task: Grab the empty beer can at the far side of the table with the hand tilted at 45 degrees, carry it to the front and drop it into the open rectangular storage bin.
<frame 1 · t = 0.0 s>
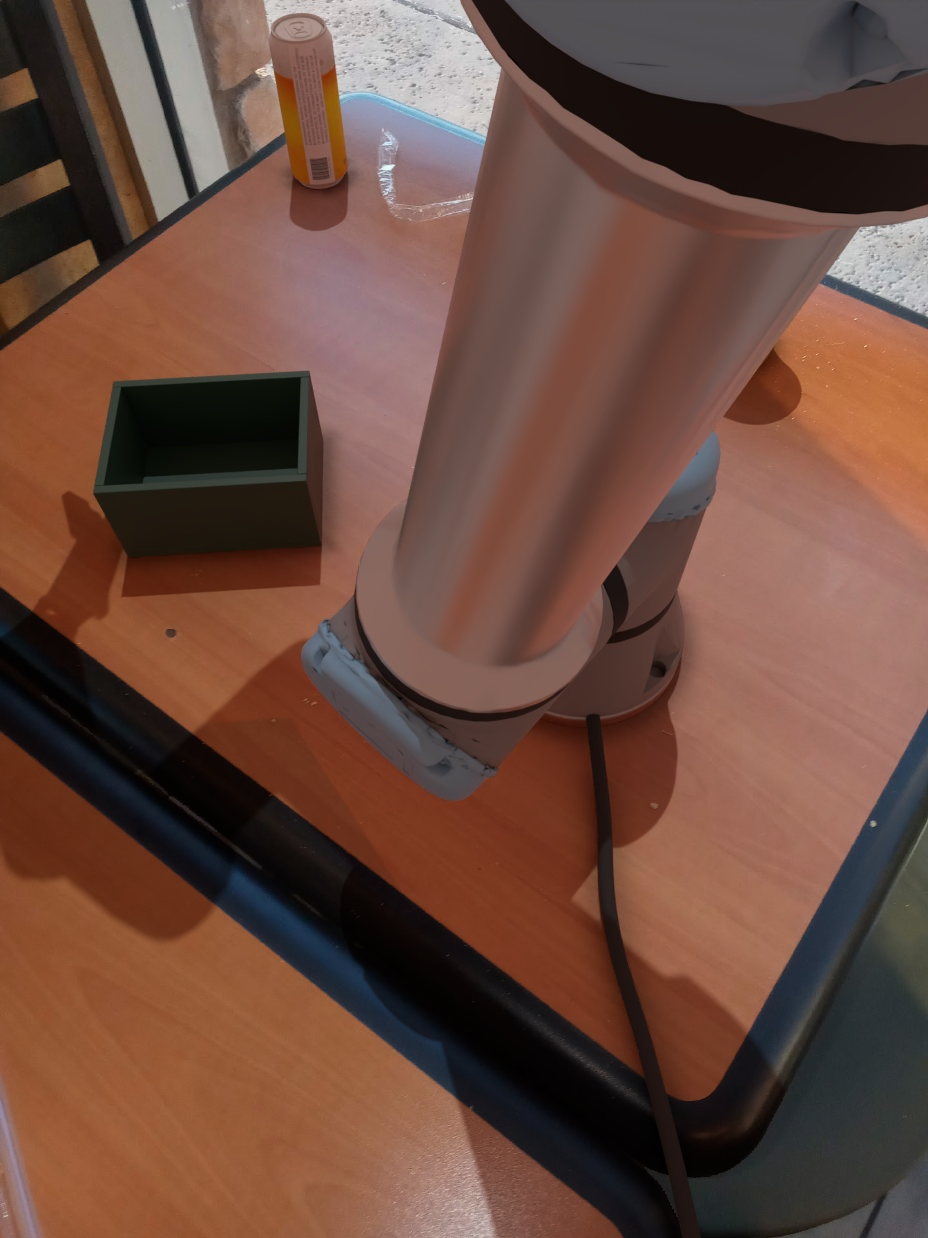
disposable coffee cup: (735, 347, 85), on the table
open rectangular storage bin: (229, 496, 76), on the table
beer can: (320, 176, 99), on the table
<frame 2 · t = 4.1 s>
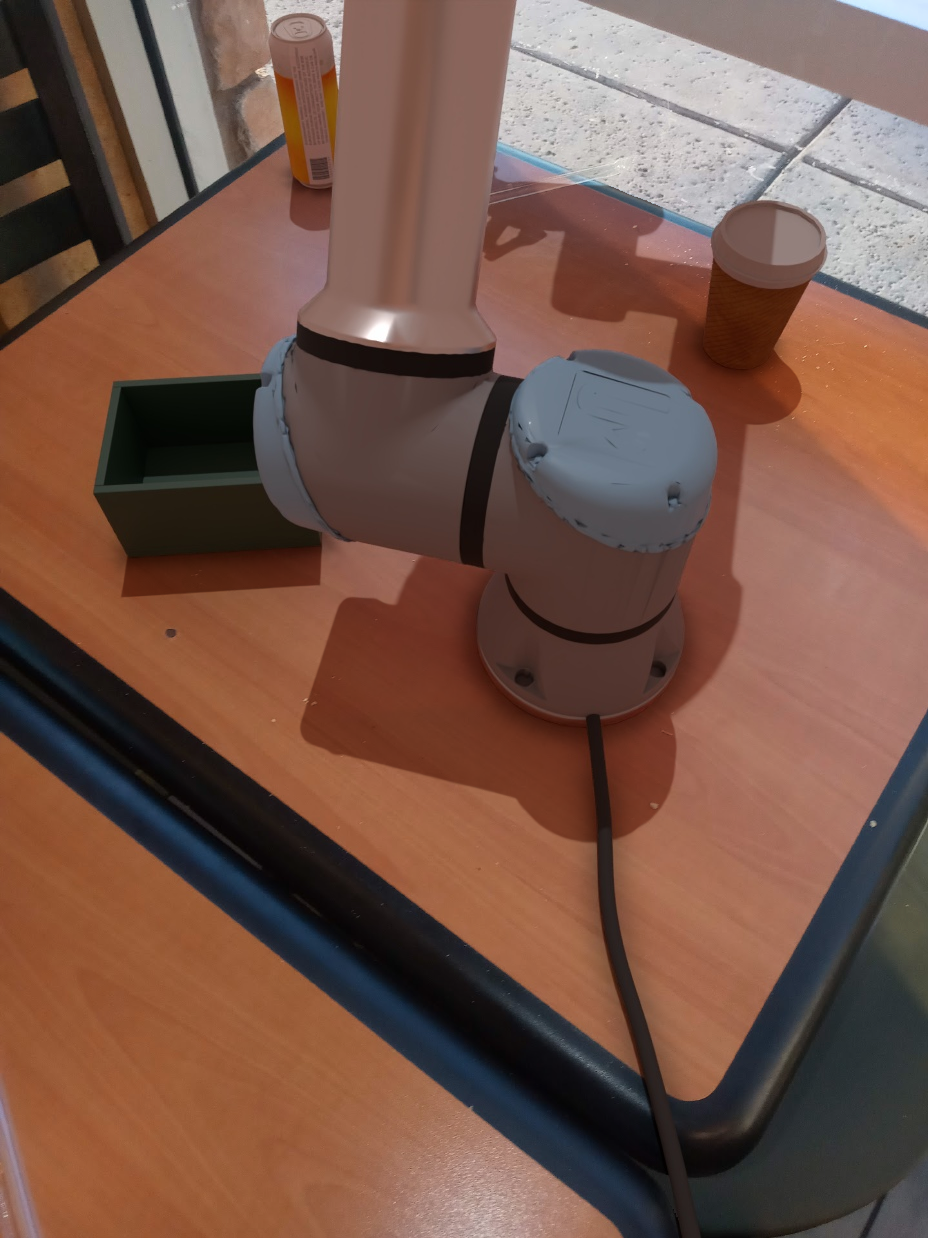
nothing on the table moved.
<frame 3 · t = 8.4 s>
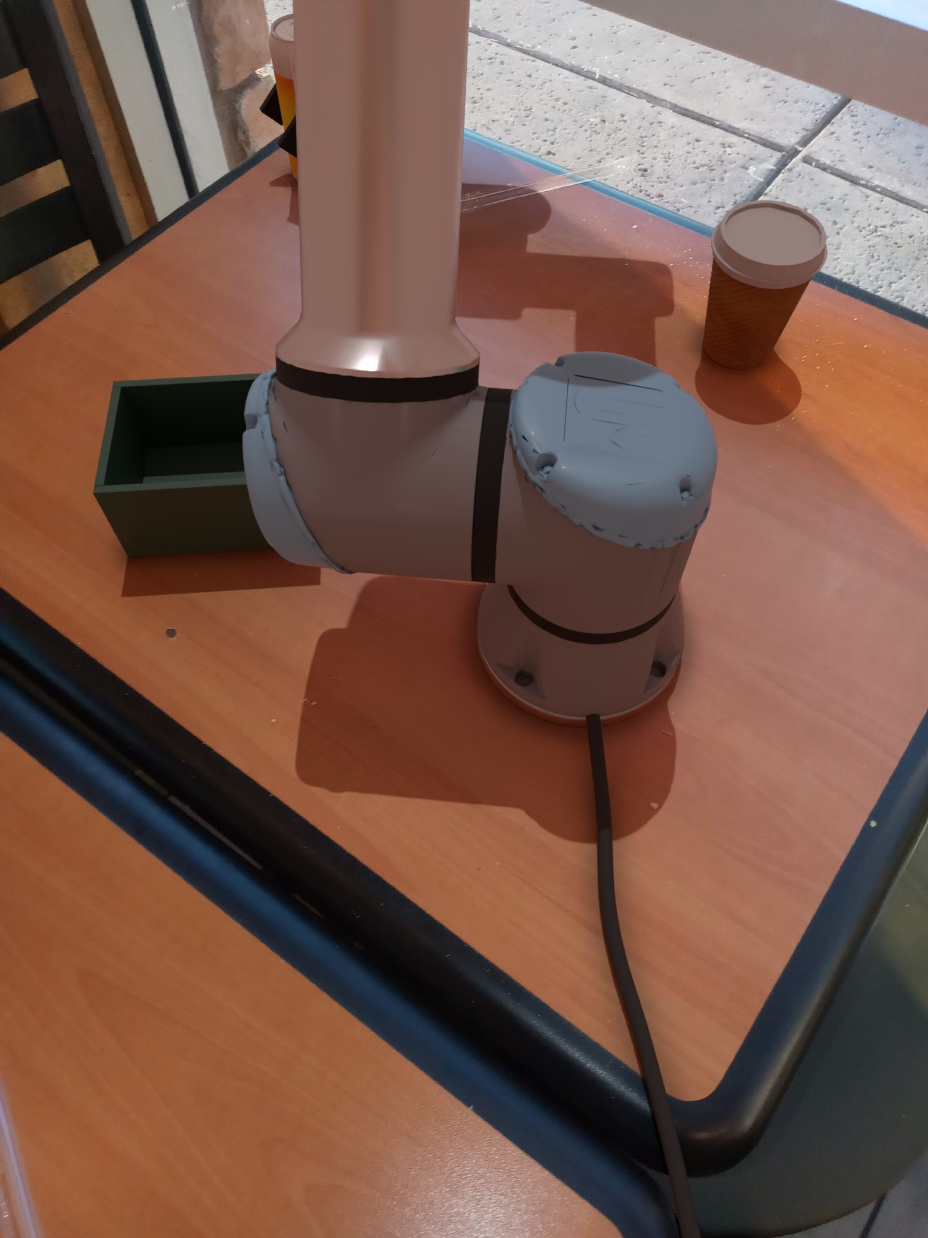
hand: (279, 133, 94), 5 cm above the table, tool tilted 45°, fingers closed on beer can, 6 cm apart
beer can: (320, 176, 99), on the table, touching gripper
everything else where it was.
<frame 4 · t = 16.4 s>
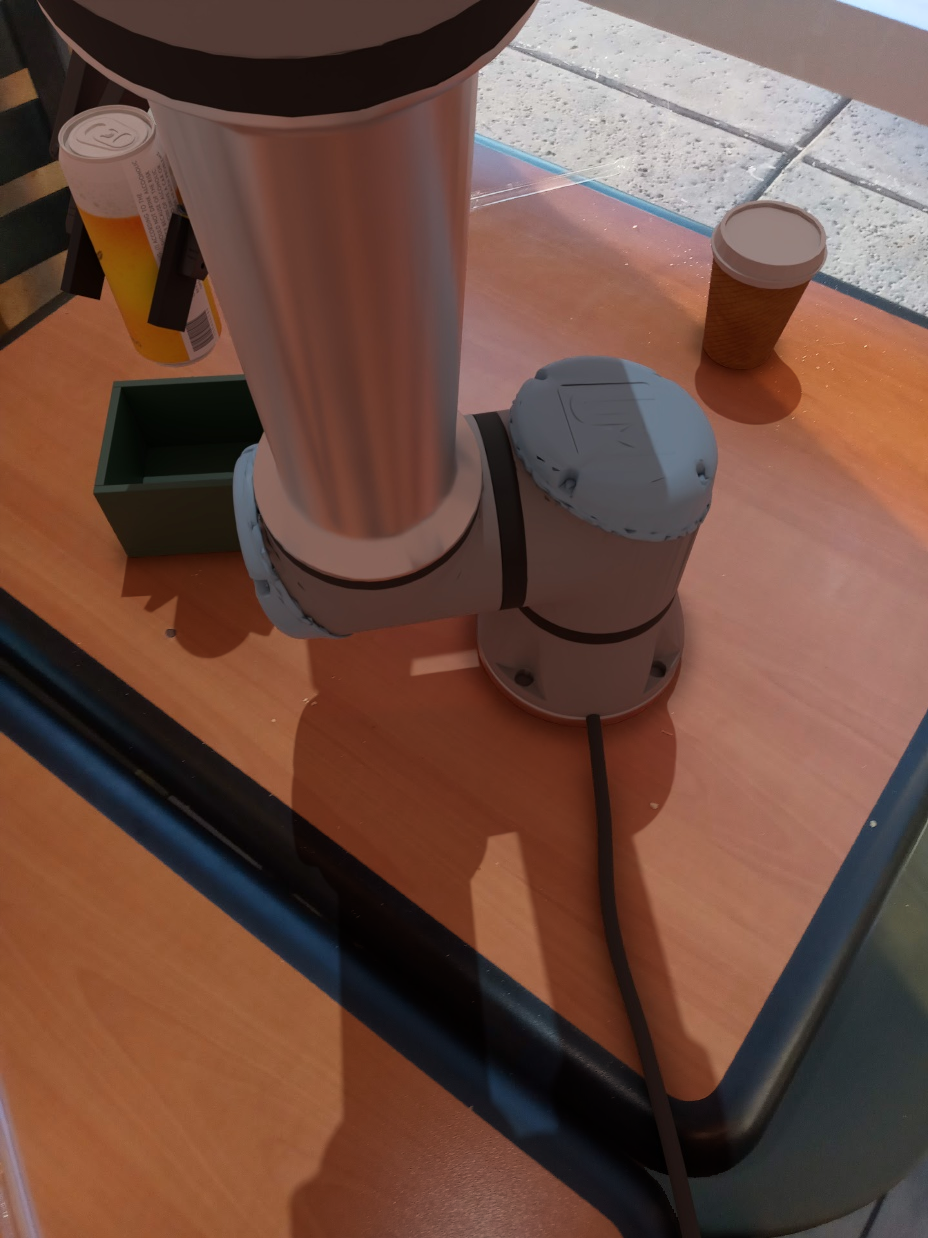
hand: (122, 310, 57), 21 cm above the table, tool tilted 45°, fingers closed on beer can, 6 cm apart
beer can: (181, 344, 63), point 15 cm above the table, touching gripper
everything else where it was.
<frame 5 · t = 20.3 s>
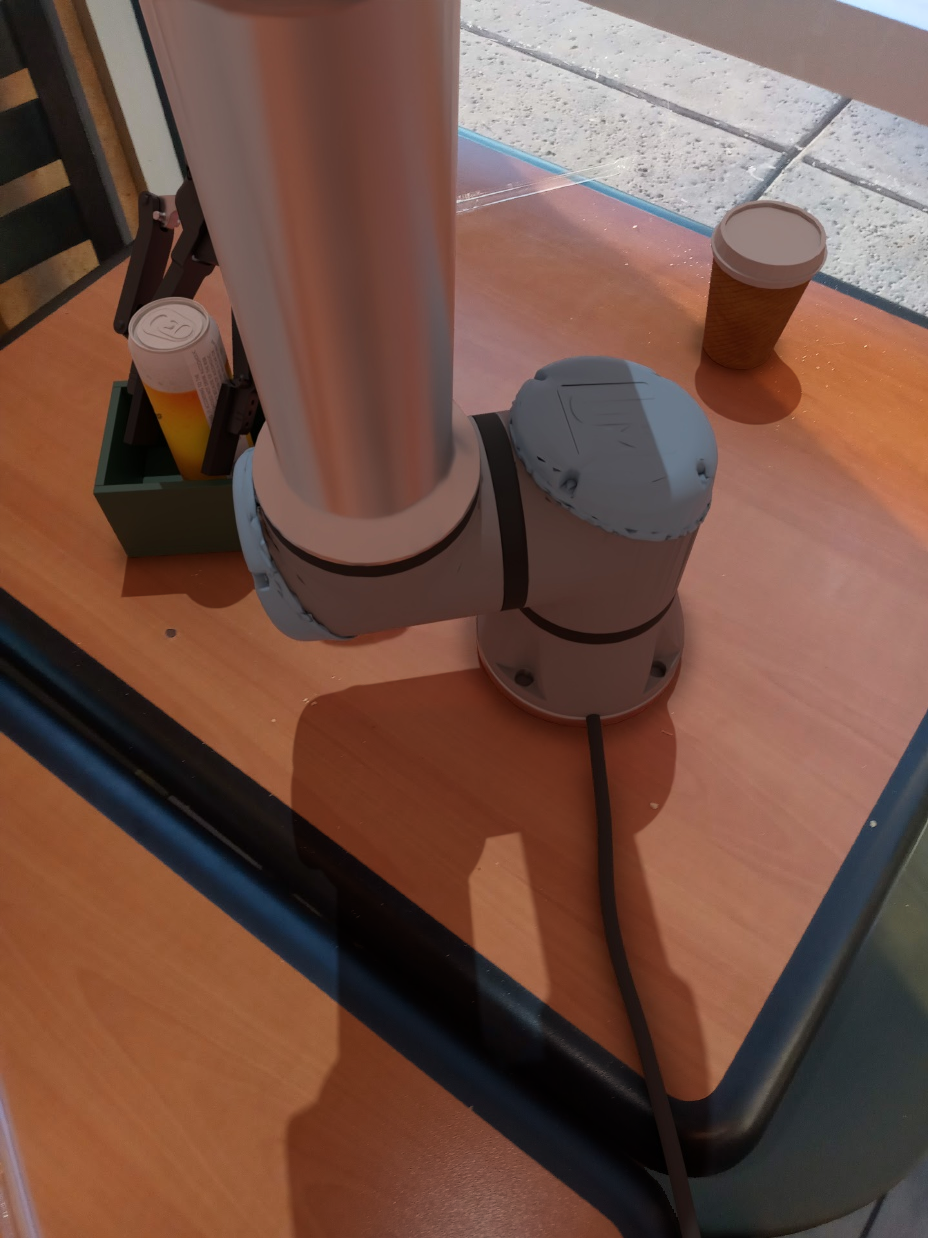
hand: (177, 457, 67), 8 cm above the table, tool tilted 45°, fingers closed on beer can, 6 cm apart
beer can: (222, 473, 73), point 3 cm above the table, touching gripper
everything else where it was.
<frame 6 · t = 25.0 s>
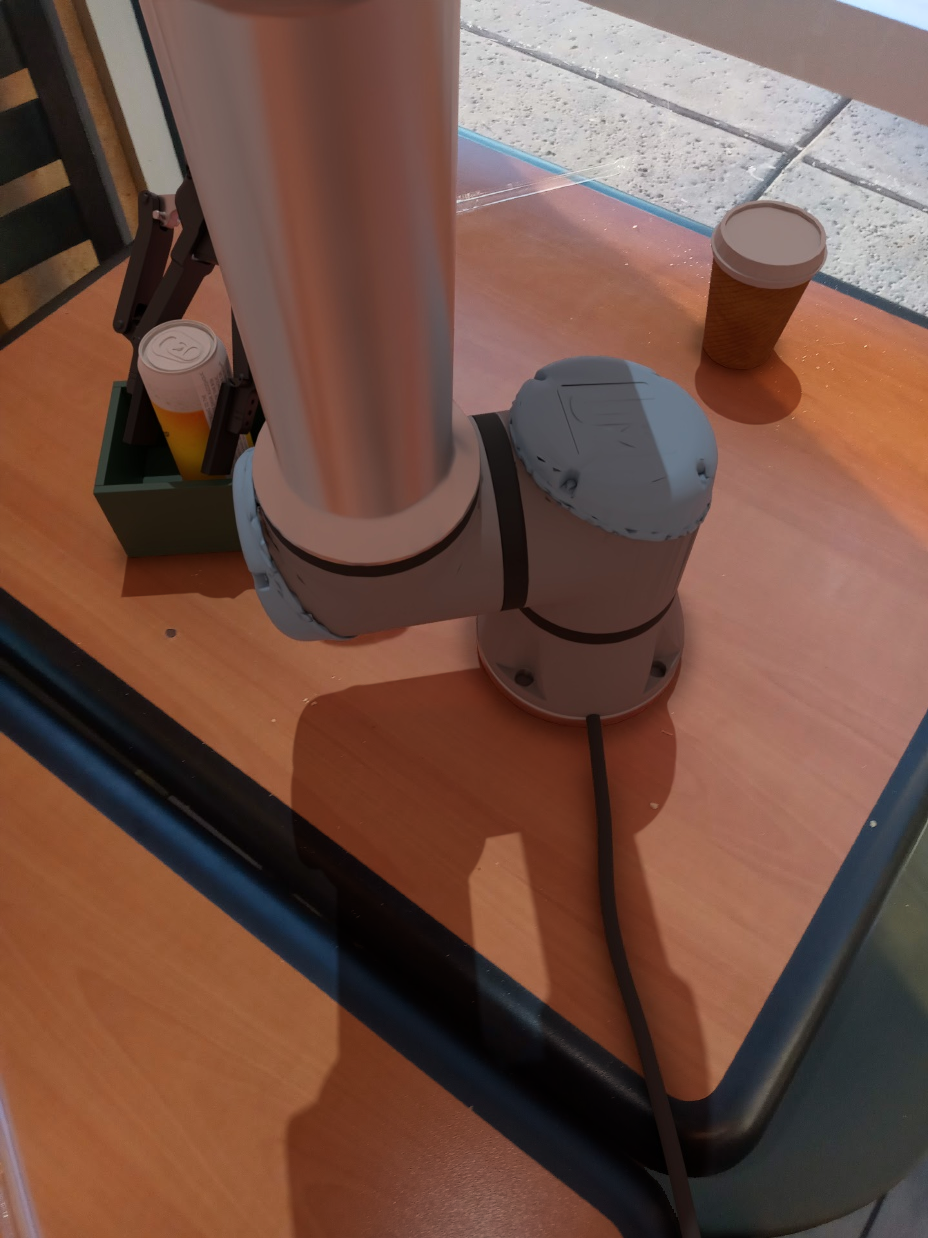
hand: (176, 457, 67), 8 cm above the table, tool tilted 45°, fingers closed on beer can, 6 cm apart
beer can: (227, 489, 75), point 1 cm above the table, touching gripper
everything else where it was.
when the fingers open (9 cm above the table, at t = 25.2 s): beer can stays where it is, resting on open rectangular storage bin.
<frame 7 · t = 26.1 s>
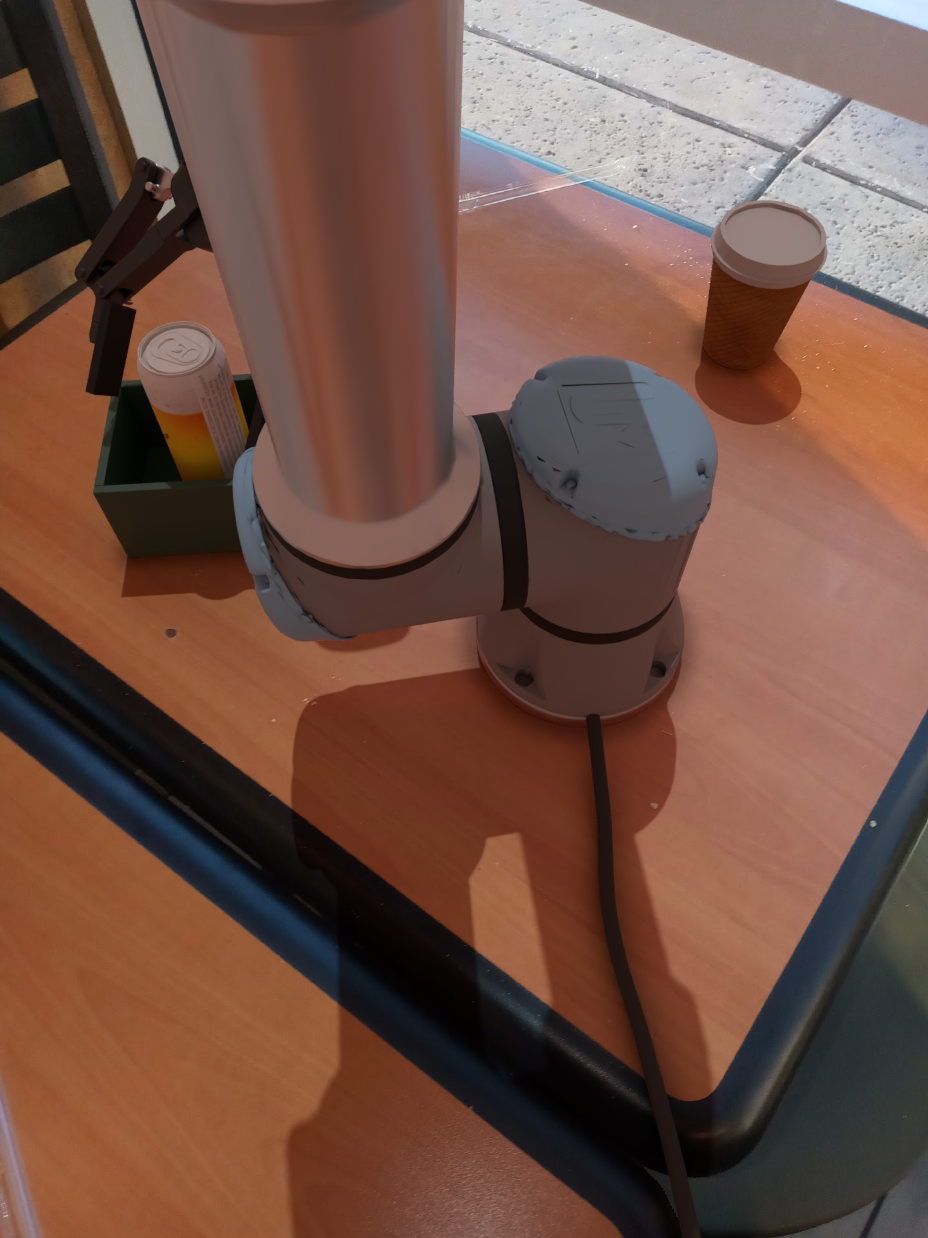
hand: (178, 424, 65), 11 cm above the table, tool tilted 45°, fingers open, 13 cm apart
beer can: (227, 490, 75), point 1 cm above the table, touching open rectangular storage bin
everything else where it was.
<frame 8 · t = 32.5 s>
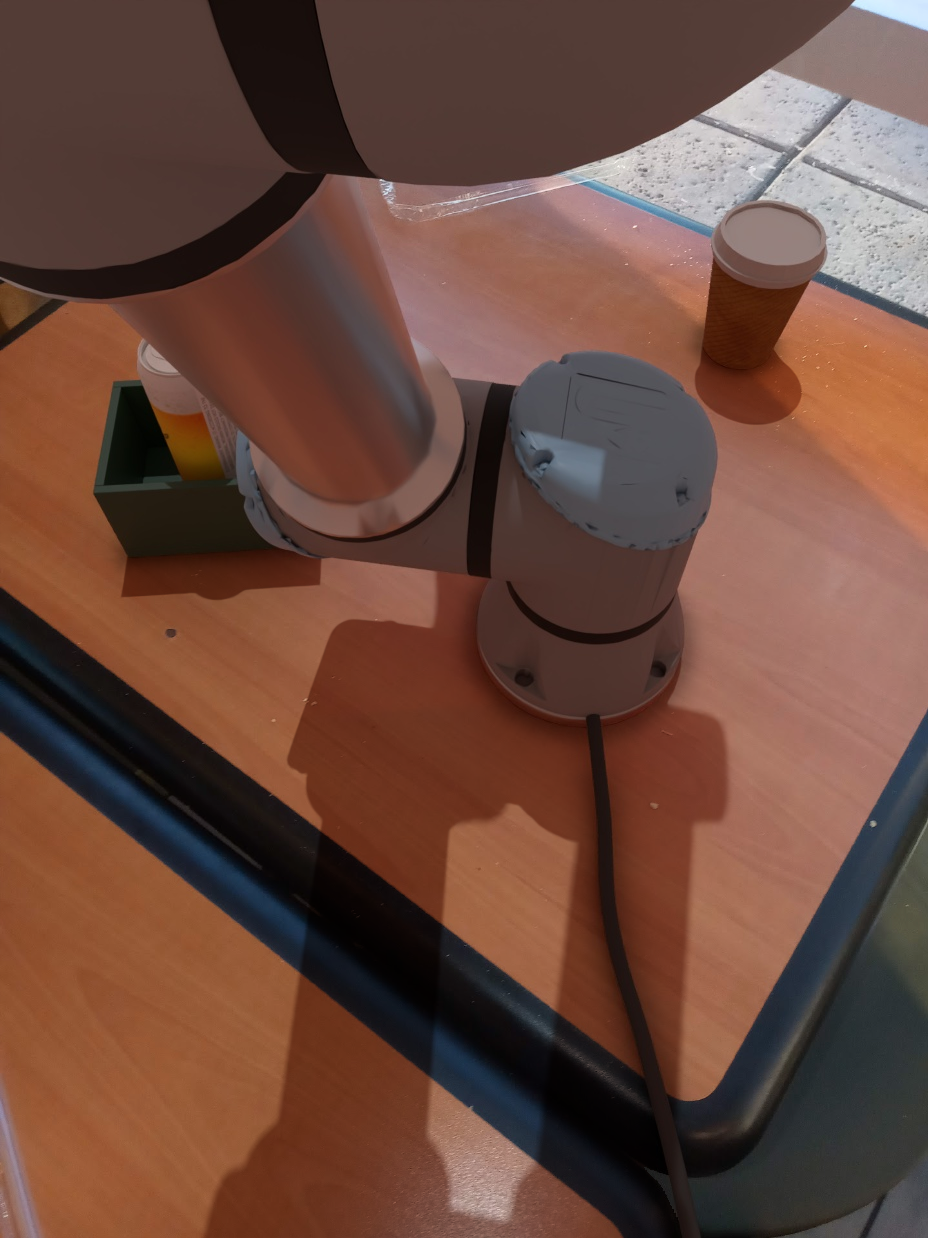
nothing on the table moved.
at the end: beer can inside the target area in the open rectangular storage bin (0.1 cm from its centre), point 0.8 cm above the open rectangular storage bin's base; the gripper is holding nothing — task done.
